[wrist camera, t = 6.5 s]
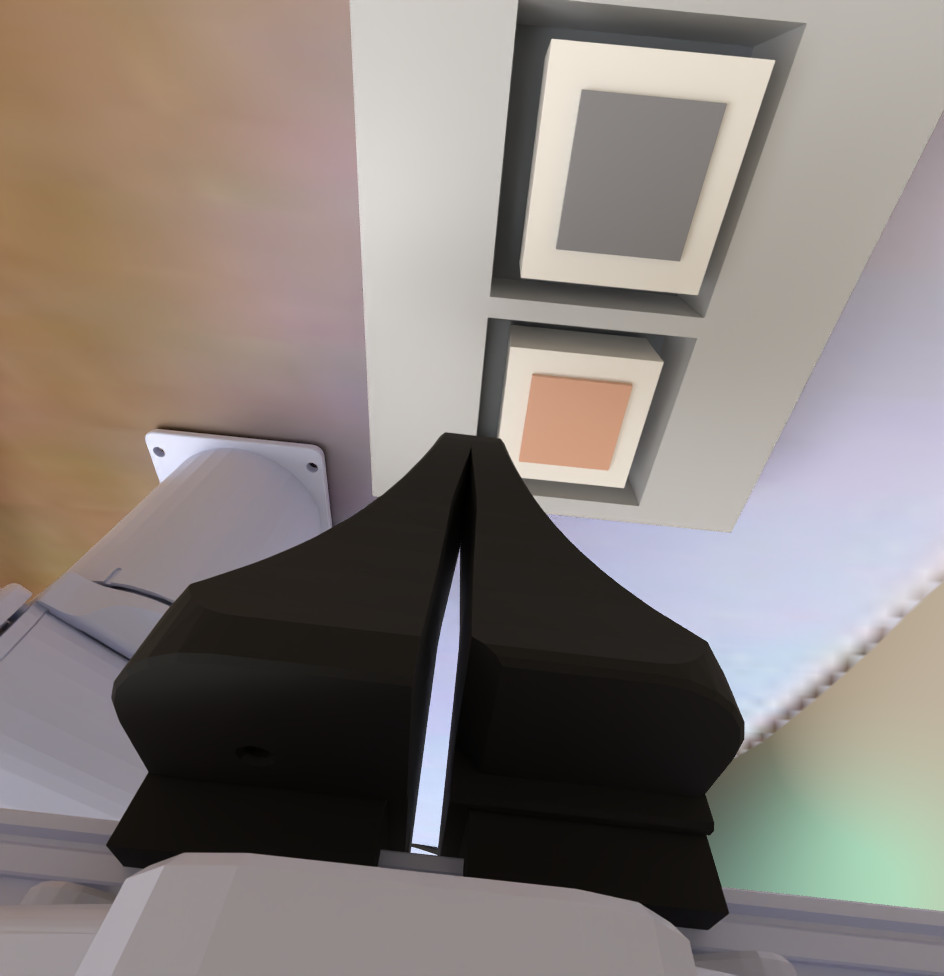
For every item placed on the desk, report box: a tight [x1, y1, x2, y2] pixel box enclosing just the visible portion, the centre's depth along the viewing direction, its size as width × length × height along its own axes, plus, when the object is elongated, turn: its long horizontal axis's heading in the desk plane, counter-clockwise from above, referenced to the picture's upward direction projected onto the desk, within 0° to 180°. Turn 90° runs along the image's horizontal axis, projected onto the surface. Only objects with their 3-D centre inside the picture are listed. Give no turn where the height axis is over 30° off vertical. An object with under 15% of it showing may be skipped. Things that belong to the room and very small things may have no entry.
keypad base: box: [350, 0, 944, 533], centre depth 14 cm, size 22×14×4 cm, turn 175°
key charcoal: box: [519, 39, 775, 295], centre depth 13 cm, size 5×5×3 cm
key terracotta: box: [496, 325, 664, 488], centre depth 17 cm, size 5×5×3 cm
